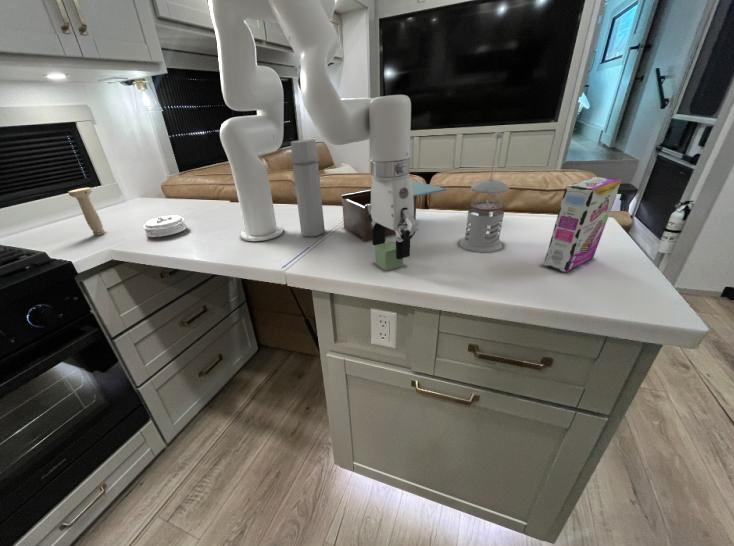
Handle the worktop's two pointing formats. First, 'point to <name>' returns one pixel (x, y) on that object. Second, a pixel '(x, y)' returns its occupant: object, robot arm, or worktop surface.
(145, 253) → the worktop surface
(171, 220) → the lid
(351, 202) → the walnut box
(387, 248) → the block
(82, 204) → the handle
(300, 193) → the water bottle
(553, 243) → the candy bar box
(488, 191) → the french press
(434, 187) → the sliding box cover
